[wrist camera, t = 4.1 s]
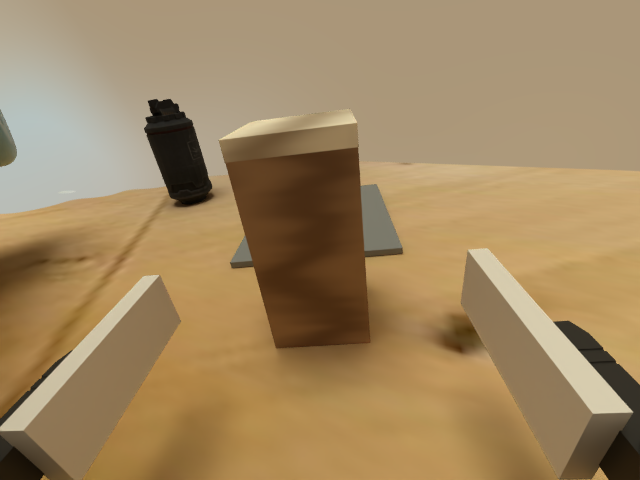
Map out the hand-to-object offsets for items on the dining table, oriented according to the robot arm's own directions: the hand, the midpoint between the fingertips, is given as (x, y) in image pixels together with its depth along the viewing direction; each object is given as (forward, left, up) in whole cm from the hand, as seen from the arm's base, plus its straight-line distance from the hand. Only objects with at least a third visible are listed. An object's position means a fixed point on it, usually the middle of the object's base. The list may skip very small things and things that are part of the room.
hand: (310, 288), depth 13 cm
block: (0, +6, -7) cm, 9 cm away
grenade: (-22, +35, -7) cm, 42 cm away
